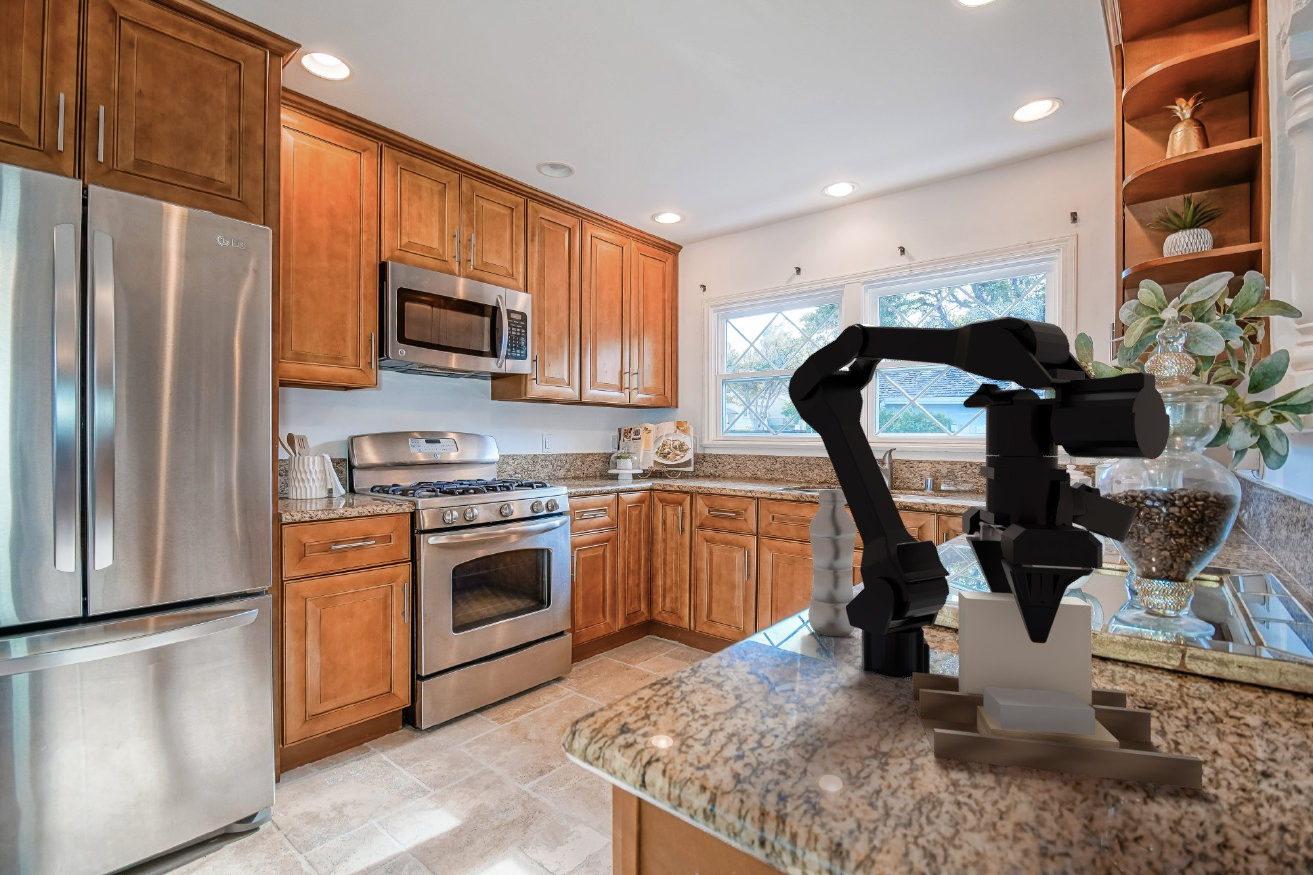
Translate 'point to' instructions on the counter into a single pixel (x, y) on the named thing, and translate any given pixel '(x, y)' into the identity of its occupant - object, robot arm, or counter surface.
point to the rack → (1135, 759)
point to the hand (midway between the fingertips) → (1020, 626)
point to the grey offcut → (1039, 711)
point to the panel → (1022, 647)
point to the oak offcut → (1047, 733)
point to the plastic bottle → (831, 565)
